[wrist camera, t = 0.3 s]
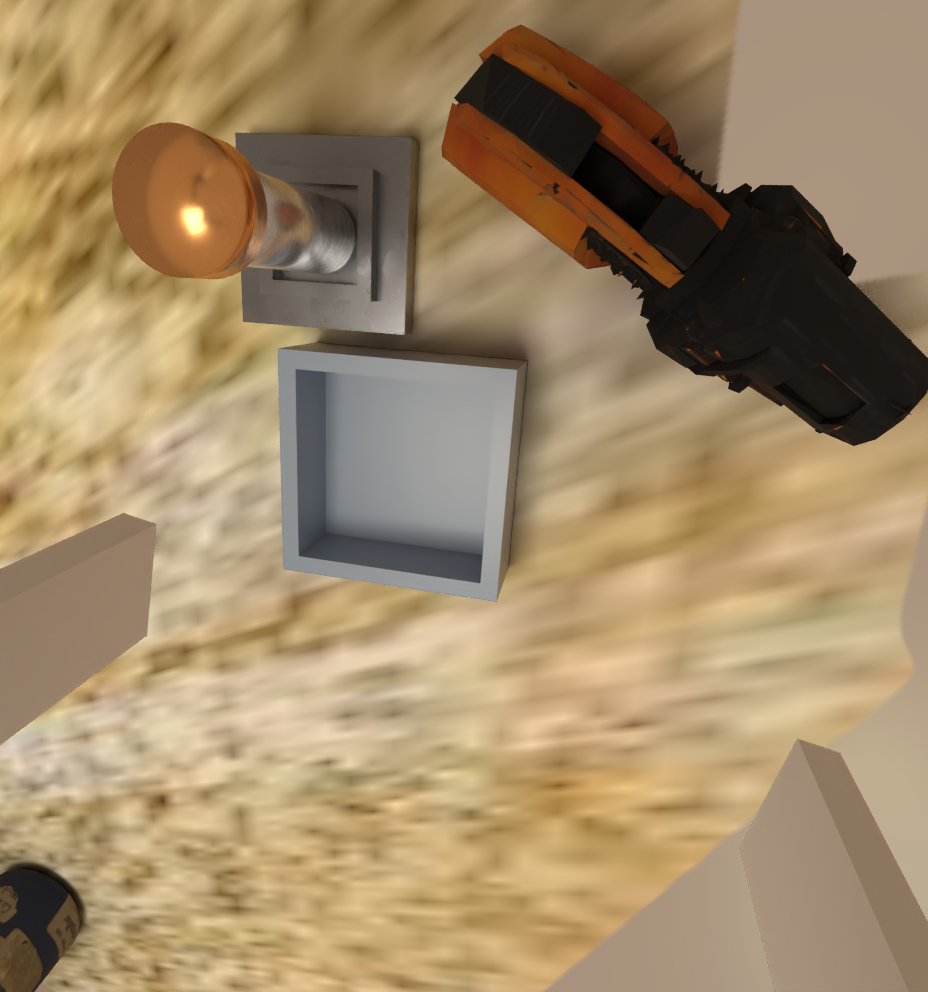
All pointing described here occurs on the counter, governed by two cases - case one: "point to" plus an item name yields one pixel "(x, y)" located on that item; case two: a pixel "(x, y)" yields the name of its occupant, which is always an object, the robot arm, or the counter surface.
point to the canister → (33, 928)
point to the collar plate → (378, 232)
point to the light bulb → (220, 210)
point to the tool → (684, 240)
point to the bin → (399, 466)
